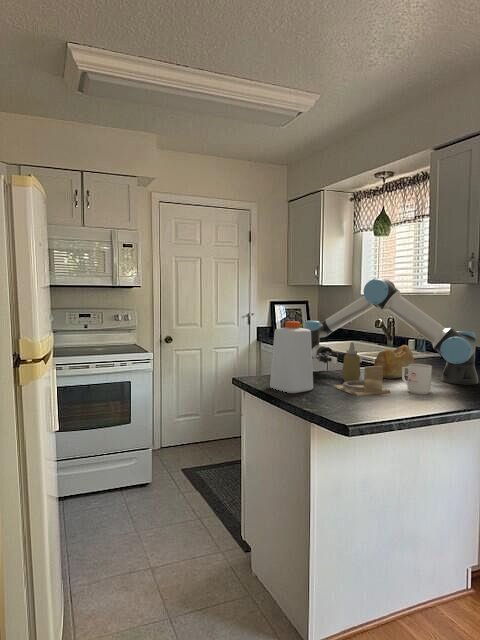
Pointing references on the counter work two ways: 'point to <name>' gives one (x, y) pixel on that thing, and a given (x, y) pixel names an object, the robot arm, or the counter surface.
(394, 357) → the rough brown rock
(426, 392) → the mug
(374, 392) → the cup bracket
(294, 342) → the plastic bottle
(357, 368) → the squeeze bottle
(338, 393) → the counter surface
